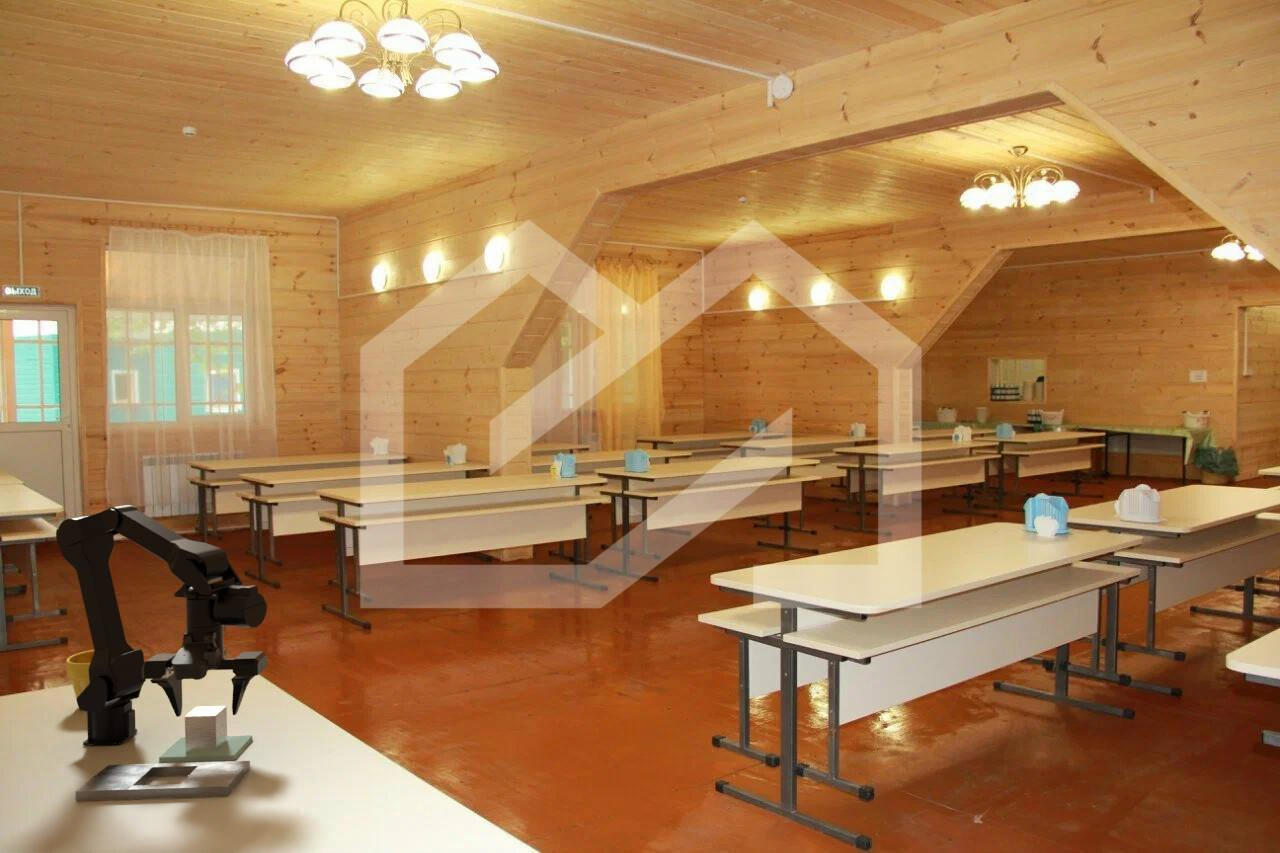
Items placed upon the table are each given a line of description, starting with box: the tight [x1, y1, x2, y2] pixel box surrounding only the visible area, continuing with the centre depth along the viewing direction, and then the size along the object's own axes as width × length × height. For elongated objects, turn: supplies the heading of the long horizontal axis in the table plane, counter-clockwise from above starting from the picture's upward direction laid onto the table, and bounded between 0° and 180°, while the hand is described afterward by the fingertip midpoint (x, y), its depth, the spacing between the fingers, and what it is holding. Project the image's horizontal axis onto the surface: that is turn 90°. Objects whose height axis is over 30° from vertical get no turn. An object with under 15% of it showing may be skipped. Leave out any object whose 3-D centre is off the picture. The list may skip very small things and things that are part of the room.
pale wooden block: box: [184, 705, 228, 752], centre depth 163 cm, size 5×5×6 cm
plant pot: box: [65, 649, 94, 699], centre depth 186 cm, size 10×10×10 cm
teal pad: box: [158, 735, 253, 763], centre depth 163 cm, size 12×9×1 cm
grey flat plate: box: [75, 760, 251, 802], centre depth 149 cm, size 22×10×2 cm, turn 94°
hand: (206, 715), depth 163 cm, fingers open, 9 cm apart
